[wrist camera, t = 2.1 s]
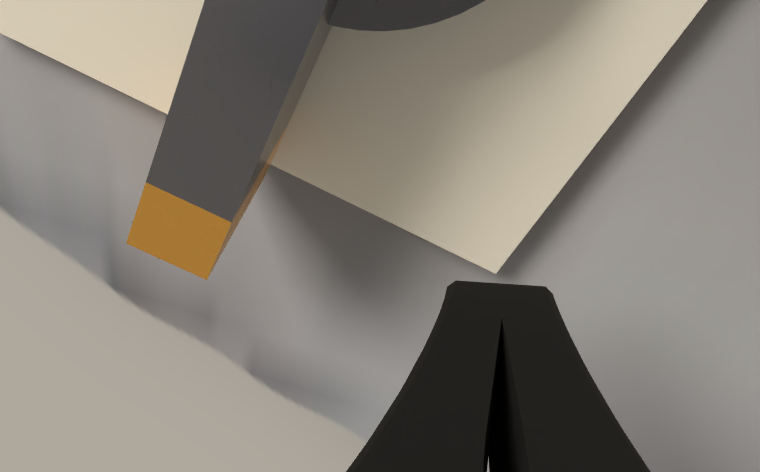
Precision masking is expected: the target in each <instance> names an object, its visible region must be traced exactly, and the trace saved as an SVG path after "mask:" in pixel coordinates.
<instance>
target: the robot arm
mask: <svg viewBox="0 0 760 472" xmlns="http://www.w3.org/2000/svg"><path fill="white" fill-rule="evenodd" d="M488 456H489V469H490V472H650V470H649V469H648V467H647V466H646V464H645V463H644V461H643V460H642V458H641V457H640V455H639V454H638V452H637V451H636V449H635V448H634V446H633V445H632V443H631V442H630V440H629V439H628V437H627V436H626V434H625V432H624V431H623V429H622V428H621V426H620V424H619V423H618V421H617V420H616V418H615V416H614V415H613V413H612V411H611V410H610V408H609V406H608V405H607V403H606V401H605V399H604V398H603V396H602V394H601V392H600V391H599V389H598V387H597V386H596V384H595V382H594V380H593V379H592V377H591V375H590V373H589V372H588V370H587V368H586V366H585V364H584V362H583V360H582V358H581V356H580V354H579V353H578V351H577V349H576V347H575V345H574V343H573V341H572V339H571V337H570V334H569V332H568V330H567V328H566V326H565V324H564V321H563V319H562V317H561V315H560V312H559V310H558V307H557V305H556V302H555V299H554V296H553V294H552V293H551V292H550V291H549V290H548V289H547V288H546V287H544V286H529V285H514V284H498V283H483V282H468V281H455V282H453V283H452V284H450V285H449V286H448V287H447V290H446V295H445V299H444V302H443V305H442V308H441V310H440V313H439V316H438V318H437V321H436V323H435V325H434V328H433V330H432V332H431V334H430V336H429V338H428V340H427V343H426V345H425V347H424V349H423V351H422V352H421V354H420V356H419V358H418V360H417V362H416V363H415V365H414V367H413V369H412V371H411V373H410V375H409V376H408V378H407V380H406V382H405V384H404V385H403V387H402V389H401V391H400V392H399V394H398V396H397V397H396V399H395V400H394V402H393V403H392V405H391V407H390V408H389V410H388V411H387V413H386V414H385V416H384V417H383V419H382V421H381V422H380V424H379V425H378V427H377V428H376V430H375V432H374V433H373V435H372V436H371V438H370V439H369V441H368V442H367V443H366V445H365V446H364V448H363V449H362V451H361V452H360V453H359V455H358V456H357V458H356V459H355V460H354V462H353V463H352V465H351V466H350V467H349V469H348V470H347V471H346V472H487V464H488Z"/></svg>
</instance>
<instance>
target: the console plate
mask: <svg viewBox="0 0 760 472" xmlns="http://www.w3.org/2000/svg"><path fill="white" fill-rule="evenodd" d="M204 1H205V0H0V33H1V34H3V35H5V36H8V37H10V38H12V39H14V40H16V41H18V42H20V43H22V44H24V45H26V46H28V47H30V48H32V49H34V50H36V51H38V52H40V53H42V54H45V55H47V56H49V57H51V58H53V59H55V60H57V61H59V62H61V63H63V64H65V65H67V66H69V67H71V68H73V69H75V70H77V71H80V72H82V73H84V74H86V75H88V76H90V77H92V78H94V79H96V80H98V81H100V82H102V83H104V84H106V85H108V86H110V87H112V88H114V89H117V90H119V91H121V92H123V93H125V94H127V95H129V96H131V97H133V98H135V99H137V100H139V101H141V102H143V103H145V104H147V105H149V106H152V107H154V108H156V109H158V110H160V111H162V112H164V113H166V114H168V112H169V109H170V106H171V103H172V100H173V97H174V94H175V91H176V87H177V84H178V81H179V78H180V75H181V72H182V69H183V66H184V63H185V60H186V56H187V53H188V50H189V47H190V44H191V41H192V38H193V35H194V32H195V29H196V25H197V22H198V19H199V16H200V13H201V10H202V7H203V4H204ZM706 2H707V0H485V1H484V2H482V3H480V4H478V5H476V6H474V7H472V8H470V9H469V10H467V11H465V12H463V13H461V14H459V15H456V16H453V17H450V18H448V19H445V20H442V21H440V22H437V23H434V24H429V25H425V26H421V27H416V28H412V29H404V30H393V31H362V30H354V29H348V28H342V27H336V26H332V27H331V30H330V32H329V34H328V36H327V38H326V41H325V43H324V45H323V47H322V50H321V52H320V54H319V56H318V59H317V61H316V63H315V65H314V68H313V70H312V72H311V74H310V77H309V79H308V81H307V83H306V85H305V88H304V90H303V92H302V94H301V97H300V99H299V101H298V103H297V106H296V108H295V110H294V112H293V115H292V117H291V119H290V121H289V123H288V126H287V128H286V130H285V132H284V135H283V137H282V139H281V141H280V144H279V146H278V148H277V150H276V153H275V155H274V157H273V159H272V161H271V165H273V166H275V167H277V168H279V169H281V170H283V171H285V172H287V173H289V174H291V175H293V176H295V177H298V178H300V179H302V180H304V181H306V182H308V183H310V184H312V185H314V186H316V187H318V188H320V189H322V190H324V191H326V192H328V193H330V194H332V195H335V196H337V197H339V198H341V199H343V200H345V201H347V202H349V203H351V204H353V205H355V206H357V207H359V208H361V209H363V210H365V211H367V212H370V213H372V214H374V215H376V216H378V217H380V218H382V219H384V220H386V221H388V222H390V223H392V224H394V225H396V226H398V227H400V228H402V229H404V230H407V231H409V232H411V233H413V234H415V235H417V236H419V237H421V238H423V239H425V240H427V241H429V242H431V243H433V244H435V245H437V246H439V247H442V248H444V249H446V250H448V251H450V252H452V253H454V254H456V255H458V256H460V257H462V258H464V259H466V260H468V261H470V262H472V263H474V264H476V265H479V266H481V267H483V268H485V269H487V270H489V271H491V272H493V273H495V274H496V273H497V272H498V270H499V269H500V268H501V266H502V265H503V264H504V263H505V261H506V260H507V259H508V257H509V256H510V255H511V254H512V252H513V251H514V250H515V248H516V247H517V246H518V244H519V243H520V242H521V241H522V239H523V238H524V237H525V235H526V234H527V233H528V232H529V230H530V229H531V228H532V226H533V225H534V224H535V223H536V221H537V220H538V219H539V217H540V216H541V215H542V213H543V212H544V211H545V210H546V208H547V207H548V206H549V204H550V203H551V202H552V201H553V199H554V198H555V197H556V195H557V194H558V193H559V191H560V190H561V189H562V188H563V186H564V185H565V184H566V182H567V181H568V180H569V179H570V177H571V176H572V175H573V173H574V172H575V171H576V170H577V168H578V167H579V166H580V164H581V163H582V162H583V160H584V159H585V158H586V157H587V155H588V154H589V153H590V151H591V150H592V149H593V148H594V146H595V145H596V144H597V142H598V141H599V140H600V139H601V137H602V136H603V135H604V133H605V132H606V131H607V129H608V128H609V127H610V126H611V124H612V123H613V122H614V120H615V119H616V118H617V117H618V115H619V114H620V113H621V111H622V110H623V109H624V107H625V106H626V105H627V104H628V102H629V101H630V100H631V98H632V97H633V96H634V95H635V93H636V92H637V91H638V89H639V88H640V87H641V86H642V84H643V83H644V82H645V80H646V79H647V78H648V76H649V75H650V74H651V73H652V71H653V70H654V69H655V67H656V66H657V65H658V64H659V62H660V61H661V60H662V58H663V57H664V56H665V55H666V53H667V52H668V51H669V49H670V48H671V47H672V45H673V44H674V43H675V42H676V40H677V39H678V38H679V36H680V35H681V34H682V33H683V31H684V30H685V29H686V27H687V26H688V25H689V23H690V22H691V21H692V20H693V18H694V17H695V16H696V14H697V13H698V12H699V11H700V9H701V8H702V7H703V5H704V4H705V3H706Z"/></svg>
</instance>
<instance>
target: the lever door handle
mask: <svg viewBox="0 0 760 472" xmlns="http://www.w3.org/2000/svg"><path fill="white" fill-rule="evenodd" d="M484 1H485V0H205V1H204V4H203V7H202V10H201V13H200V16H199V19H198V22H197V25H196V29H195V32H194V35H193V38H192V41H191V44H190V47H189V50H188V53H187V56H186V60H185V63H184V66H183V69H182V72H181V75H180V78H179V81H178V84H177V87H176V91H175V94H174V97H173V100H172V103H171V106H170V109H169V112H168V115H167V118H166V122H165V125H164V128H163V131H162V134H161V137H160V140H159V143H158V146H157V149H156V153H155V156H154V159H153V162H152V165H151V168H150V171H149V174H148V177H147V180H146V184H145V187H144V190H143V193H142V196H141V199H140V202H139V205H138V208H137V211H136V215H135V218H134V221H133V224H132V227H131V230H130V233H129V236H128V239H127V242H126V243H127V244H129V245H131V246H133V247H135V248H138V249H140V250H142V251H144V252H146V253H149V254H151V255H153V256H155V257H157V258H160V259H162V260H164V261H166V262H168V263H171V264H173V265H175V266H177V267H179V268H182V269H184V270H186V271H188V272H190V273H193V274H195V275H197V276H199V277H201V278H204V279H206V280H207V279H208V277H209V275H210V273H211V271H212V270H213V268H214V266H215V264H216V262H217V261H218V259H219V257H220V255H221V254H222V252H223V250H224V248H225V246H226V245H227V243H228V241H229V239H230V237H231V236H232V234H233V232H234V230H235V229H236V227H237V225H238V223H239V221H240V220H241V218H242V216H243V214H244V212H245V211H246V209H247V207H248V205H249V204H250V202H251V200H252V198H253V196H254V195H255V193H256V191H257V189H258V187H259V186H260V184H261V182H262V180H263V178H264V177H265V175H266V173H267V170H268V168H269V166H270V164H271V161H272V159H273V157H274V155H275V153H276V150H277V148H278V146H279V144H280V141H281V139H282V137H283V135H284V132H285V130H286V128H287V126H288V123H289V121H290V119H291V117H292V115H293V112H294V110H295V108H296V106H297V103H298V101H299V99H300V97H301V94H302V92H303V90H304V88H305V85H306V83H307V81H308V79H309V77H310V74H311V72H312V70H313V68H314V65H315V63H316V61H317V59H318V56H319V54H320V52H321V50H322V47H323V45H324V43H325V41H326V38H327V36H328V34H329V32H330V30H331V27H332V26H336V27H342V28H348V29H354V30H362V31H393V30H404V29H412V28H416V27H421V26H425V25H429V24H434V23H437V22H440V21H442V20H445V19H448V18H450V17H453V16H456V15H459V14H461V13H463V12H465V11H467V10H469V9H470V8H472V7H474V6H476V5H478V4H480V3H482V2H484Z"/></svg>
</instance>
